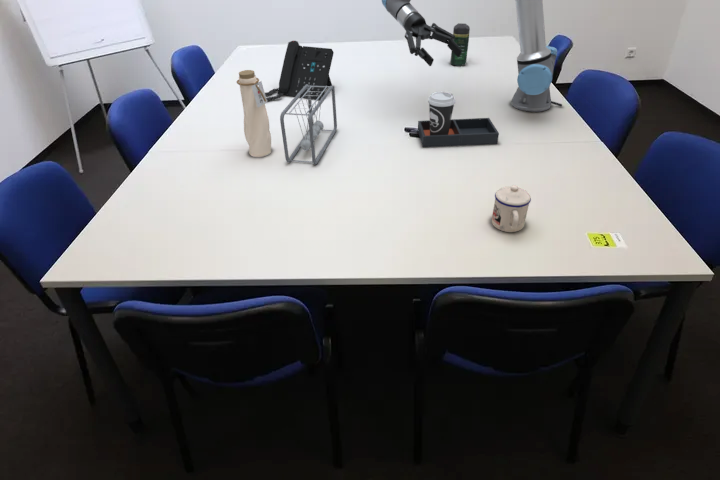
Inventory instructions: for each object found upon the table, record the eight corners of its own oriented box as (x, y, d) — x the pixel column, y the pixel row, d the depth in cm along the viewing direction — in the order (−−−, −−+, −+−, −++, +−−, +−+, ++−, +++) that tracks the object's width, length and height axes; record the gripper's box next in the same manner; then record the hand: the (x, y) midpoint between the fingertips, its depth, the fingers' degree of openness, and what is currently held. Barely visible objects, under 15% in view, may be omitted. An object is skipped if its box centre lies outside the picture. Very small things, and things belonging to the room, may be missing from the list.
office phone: (248, 102, 206) (240, 54, 194) (281, 81, 227) (275, 36, 214) (308, 110, 197) (303, 60, 185) (336, 87, 217) (333, 41, 205)
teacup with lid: (488, 213, 132) (494, 177, 125) (521, 214, 132) (529, 177, 125) (494, 239, 123) (501, 201, 116) (530, 240, 122) (539, 202, 115)
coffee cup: (451, 142, 167) (455, 101, 158) (424, 141, 168) (427, 100, 159) (452, 131, 174) (456, 91, 165) (426, 129, 176) (429, 90, 167)
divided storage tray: (487, 128, 177) (489, 117, 175) (497, 144, 167) (499, 133, 164) (417, 131, 177) (418, 120, 175) (422, 147, 166) (423, 136, 164)
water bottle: (280, 148, 169) (269, 69, 152) (269, 159, 162) (255, 78, 145) (255, 145, 172) (241, 66, 155) (243, 156, 165) (227, 75, 148)
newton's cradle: (311, 128, 182) (306, 82, 171) (337, 129, 180) (334, 83, 170) (285, 165, 159) (278, 114, 148) (315, 167, 157) (310, 116, 146)
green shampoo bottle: (466, 66, 235) (470, 26, 224) (450, 66, 236) (453, 26, 225) (466, 60, 243) (470, 22, 232) (450, 60, 244) (453, 22, 233)
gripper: (433, 23, 182) (467, 59, 176) (382, 36, 172) (416, 75, 165) (440, 5, 176) (475, 41, 169) (387, 18, 166) (422, 57, 159)
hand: (446, 58), depth 167 cm, fingers open, 13 cm apart
